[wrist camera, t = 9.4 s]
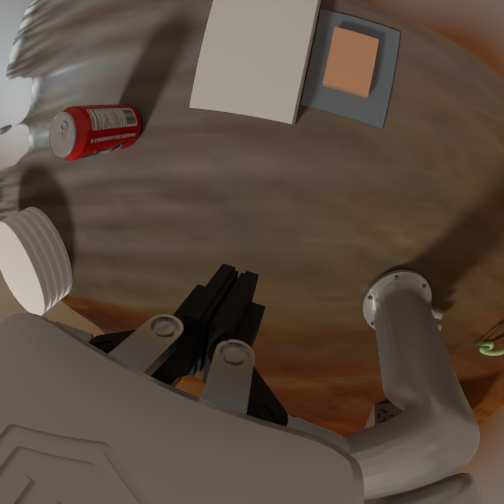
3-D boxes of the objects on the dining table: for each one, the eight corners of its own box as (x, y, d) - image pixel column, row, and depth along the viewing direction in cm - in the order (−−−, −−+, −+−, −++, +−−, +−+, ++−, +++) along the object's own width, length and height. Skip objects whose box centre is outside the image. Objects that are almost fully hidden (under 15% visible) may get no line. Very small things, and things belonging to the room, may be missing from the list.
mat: (399, 32, 24) (400, 32, 24) (382, 128, 32) (382, 128, 31) (320, 9, 26) (320, 9, 25) (300, 105, 33) (300, 104, 33)
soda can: (151, 117, 39) (85, 121, 26) (131, 156, 42) (67, 173, 29) (122, 97, 38) (56, 98, 25) (105, 134, 42) (41, 146, 29)
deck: (322, -5, 24) (321, -17, 21) (294, 124, 35) (291, 124, 31) (229, -13, 26) (220, -23, 23) (201, 108, 36) (189, 107, 33)
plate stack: (84, 303, 64) (58, 326, 54) (37, 287, 71) (14, 304, 61) (55, 203, 52) (20, 220, 42) (12, 208, 59) (-15, 222, 49)
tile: (334, 26, 25) (334, 31, 27) (322, 83, 29) (322, 85, 31) (378, 39, 24) (376, 43, 26) (367, 96, 28) (365, 98, 30)
